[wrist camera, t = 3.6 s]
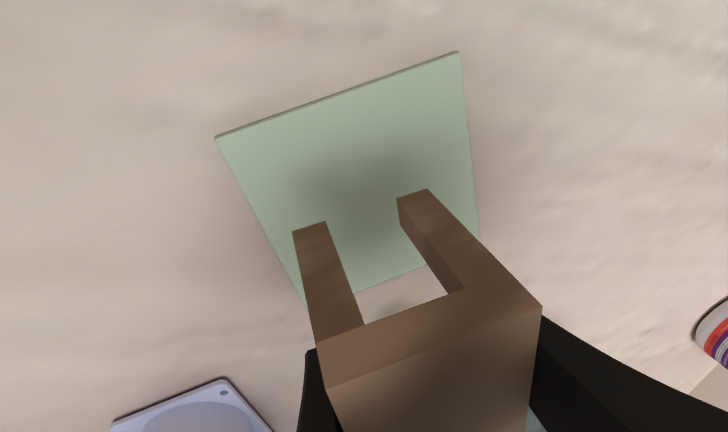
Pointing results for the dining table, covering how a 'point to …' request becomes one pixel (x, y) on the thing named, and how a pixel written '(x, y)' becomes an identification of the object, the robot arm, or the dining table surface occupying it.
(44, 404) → the dining table surface
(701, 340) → the pill bottle
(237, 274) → the dining table surface
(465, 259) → the stool
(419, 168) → the mat
